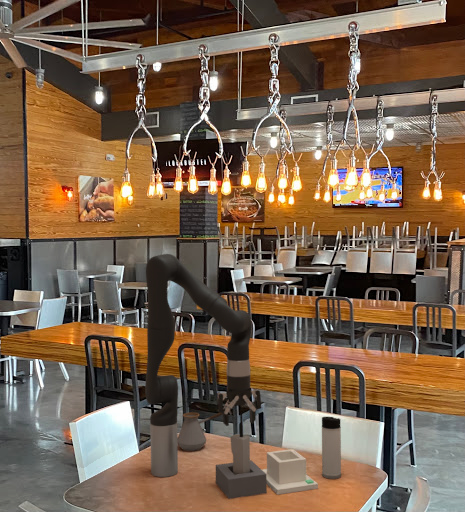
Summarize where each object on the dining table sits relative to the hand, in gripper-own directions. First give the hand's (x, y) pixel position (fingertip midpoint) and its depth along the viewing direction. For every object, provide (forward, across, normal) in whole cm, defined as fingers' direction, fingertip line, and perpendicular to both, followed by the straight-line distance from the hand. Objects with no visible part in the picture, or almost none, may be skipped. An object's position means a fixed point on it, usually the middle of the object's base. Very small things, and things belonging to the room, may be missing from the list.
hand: (239, 423), depth 197 cm
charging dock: (+21, -16, -1) cm, 26 cm away
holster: (+21, 0, 0) cm, 21 cm away
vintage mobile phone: (+21, 0, 0) cm, 21 cm away
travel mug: (+21, -32, 0) cm, 38 cm away
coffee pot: (+20, 0, -42) cm, 47 cm away
